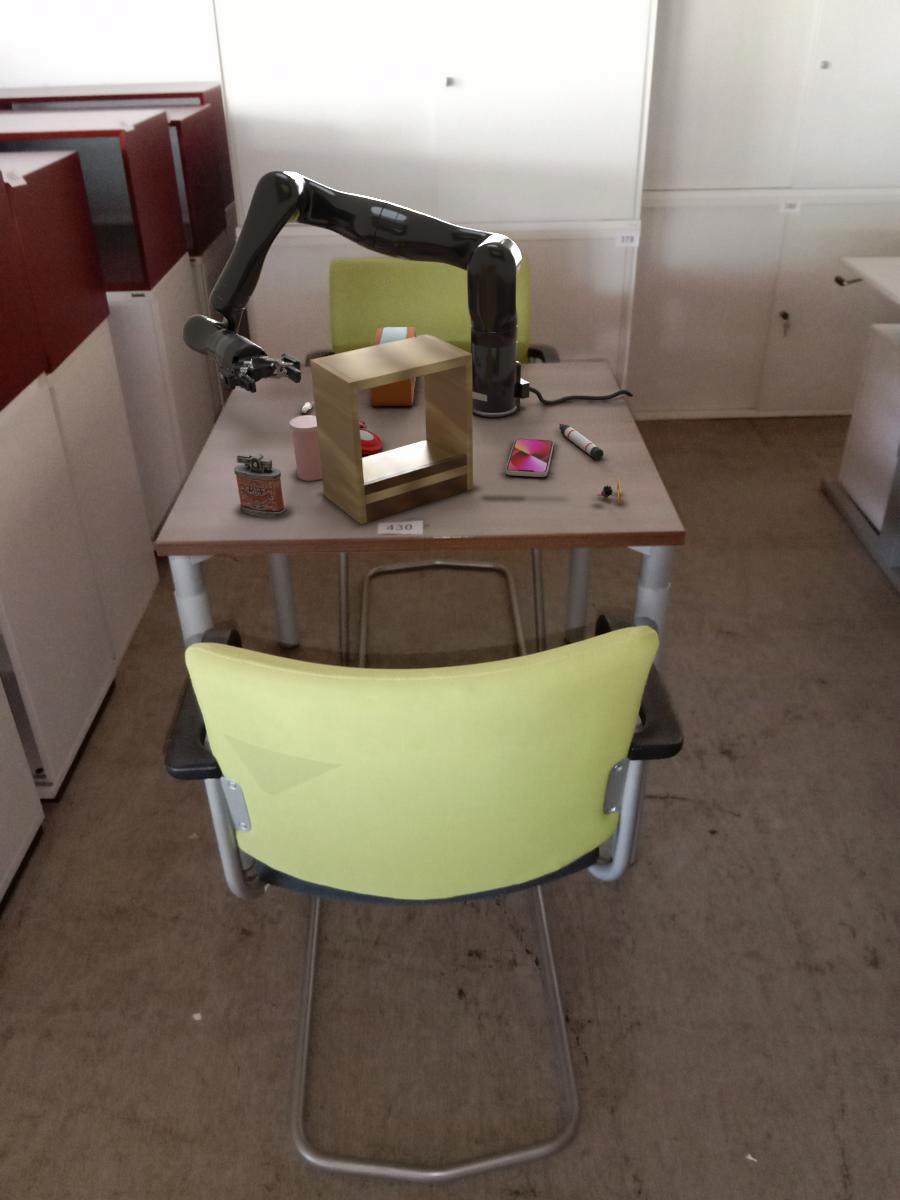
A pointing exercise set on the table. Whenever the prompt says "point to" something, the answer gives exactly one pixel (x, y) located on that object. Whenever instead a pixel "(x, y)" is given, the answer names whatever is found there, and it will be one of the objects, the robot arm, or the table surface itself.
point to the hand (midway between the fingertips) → (276, 382)
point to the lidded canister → (306, 447)
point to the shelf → (408, 469)
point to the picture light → (306, 407)
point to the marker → (581, 441)
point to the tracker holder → (369, 441)
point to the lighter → (259, 486)
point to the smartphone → (530, 457)
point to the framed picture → (610, 491)
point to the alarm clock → (396, 391)
